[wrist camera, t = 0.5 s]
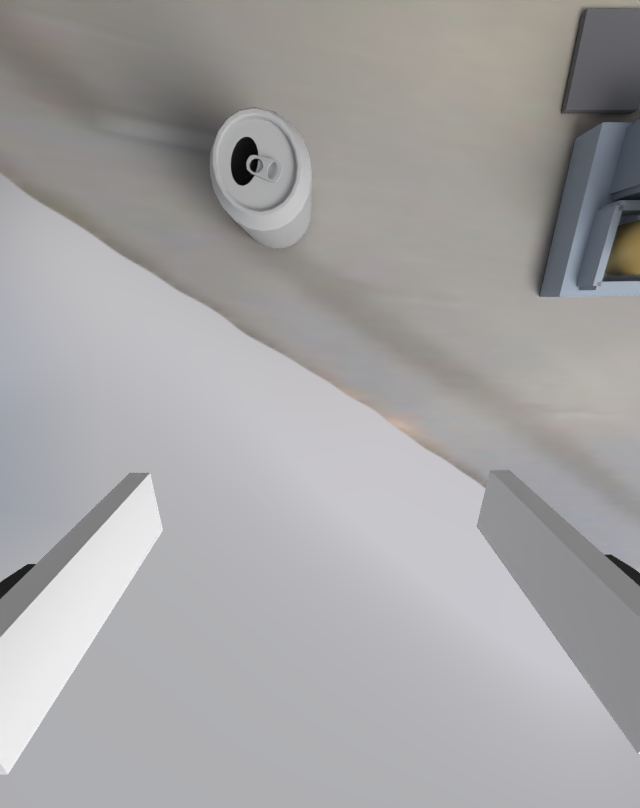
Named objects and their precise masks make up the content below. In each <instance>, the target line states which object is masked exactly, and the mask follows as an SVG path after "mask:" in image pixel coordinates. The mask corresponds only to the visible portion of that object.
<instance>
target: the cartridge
mask: <svg viewBox="0 0 640 808" xmlns="http://www.w3.org/2000/svg"><path fill="white" fill-rule="evenodd" d="M605 273H606V274H608V275H611V276H623V275H638V274H640V220H637V221H632V222H628V223H624V224H621V225H619V226H618V228H617V231H616V235H615V238H614V242H613V245H612V248H611V252H610V255H609V259H608V262H607V266H606V269H605Z"/></svg>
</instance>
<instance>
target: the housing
mask: <svg viewBox="0 0 640 808" xmlns="http://www.w3.org/2000/svg"><path fill="white" fill-rule="evenodd" d="M637 220H640V118H639V119H637V120H635V121H634V122H602V123H601V124H599V125H597V126H596V127H594V128H592V129H591V130H589V131H587V132H586V133H584V134H582V135H581V136H579V137H577V138H576V139H575V143H574V147H573V152H572V156H571V160H570V165H569V169H568V174H567V178H566V182H565V187H564V191H563V196H562V200H561V204H560V209H559V213H558V218H557V222H556V226H555V231H554V235H553V240H552V244H551V248H550V253H549V257H548V262H547V266H546V270H545V275H544V279H543V284H542V288H541V292H540V297H567V296H636V295H640V274H638V275H623V276H611V275H608V274H606V273H605V269H606V266H607V262H608V259H609V255H610V252H611V248H612V245H613V242H614V238H615V235H616V231H617V228H618V226H619V225H621V224H624V223H628V222H632V221H637Z"/></svg>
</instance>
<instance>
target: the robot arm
mask: <svg viewBox="0 0 640 808" xmlns="http://www.w3.org/2000/svg"><path fill="white" fill-rule="evenodd" d="M477 527H478V529H479V530H480V532H481V533H482V535H483V536H484V537H485V539H486V540H487V542H488V543H489V544H490V546H491V547H492V549H493V550H494V551H495V553H496V554H497V556H498V557H499V558H500V560H501V561H502V563H503V564H504V565H505V567H506V568H507V570H508V571H509V573H510V574H511V575H512V577H513V578H514V580H515V581H516V583H517V584H518V585H519V587H520V588H521V589H522V591H523V592H524V594H525V595H526V597H527V598H528V599H529V601H530V602H531V604H532V605H533V606H534V607H535V609H536V611H537V612H538V614H539V615H540V616H541V618H542V619H543V621H544V622H545V623H546V625H547V626H548V628H549V629H550V630H551V632H552V633H553V635H554V636H555V637H556V639H557V640H558V642H559V643H560V645H561V646H562V647H563V649H564V650H565V651H566V653H567V654H568V656H569V657H570V658H571V660H572V661H573V663H574V664H575V666H576V667H577V668H578V670H579V671H580V673H581V674H582V676H583V677H584V678H585V680H586V681H587V683H588V684H589V685H590V687H591V688H592V690H593V691H594V692H595V694H596V695H597V697H598V698H599V699H600V701H601V702H602V704H603V705H604V706H605V708H606V709H607V711H608V712H609V714H610V715H611V716H612V717H613V719H614V721H615V722H616V723H617V725H618V726H619V727H620V729H621V730H622V732H623V733H624V735H625V736H626V738H627V739H628V740H629V742H630V743H631V744H632V746H633V747H634V749H635V750H636V751H637V753H638V754H640V573H639V572H638V571H636V570H635V569H634V568H632V567H630V566H629V565H627V564H625V563H624V562H622V561H620V560H619V559H617V558H616V557H614V556H612V555H604V554H603V553H602V552H600V551H599V550H598V549H597V548H596V547H595V546H594V545H593V544H592V543H590V542H589V541H588V540H587V539H586V538H585V537H584V536H583V535H581V534H580V533H579V532H578V531H577V530H576V529H575V528H574V527H572V526H571V525H570V524H569V523H568V522H567V521H566V520H565V519H563V518H562V517H561V516H560V515H559V514H558V513H557V512H556V511H554V510H553V509H552V508H551V507H550V506H549V505H548V504H547V503H545V502H544V501H543V500H542V499H541V498H540V497H539V496H538V495H537V494H535V493H534V492H533V491H532V490H531V489H530V488H529V487H528V486H526V485H525V484H524V483H523V482H522V481H521V480H520V479H519V478H517V477H516V476H515V475H514V474H513V473H512V472H511V471H510V470H490V473H489V477H488V482H487V486H486V490H485V494H484V498H483V502H482V507H481V511H480V515H479V519H478V523H477ZM162 531H163V529H162V524H161V520H160V516H159V511H158V506H157V502H156V497H155V493H154V488H153V483H152V479H151V475H150V473H129V474H128V475H127V476H126V477H125V478H124V479H123V480H122V481H121V482H120V483H119V484H118V485H117V486H116V487H115V488H114V489H113V490H112V491H111V492H110V493H109V494H108V495H107V496H106V497H105V498H104V499H103V500H102V501H101V502H100V503H98V504H97V505H96V507H94V508H93V509H92V510H91V511H90V513H88V514H87V515H86V516H85V517H84V518H83V519H82V520H81V521H80V522H79V523H78V524H77V525H76V526H75V527H74V528H73V529H72V530H71V531H70V532H69V533H68V534H67V535H66V536H65V537H64V538H63V539H62V540H61V541H60V542H58V543H57V544H56V545H55V546H54V547H53V548H52V549H51V550H50V552H49V553H47V554H46V555H45V556H44V557H43V558H42V559H41V560H40V561H39V562H38V563H37V564H27V565H26V566H24V567H23V568H22V569H20V570H18V571H17V572H15V573H14V574H12V575H10V576H9V577H7V578H6V579H4V580H3V581H2V582H0V774H8V773H9V772H10V770H11V769H12V767H13V766H14V764H15V762H16V761H17V759H18V758H19V756H20V754H21V753H22V751H23V750H24V748H25V746H26V745H27V743H28V742H29V740H30V739H31V737H32V736H33V734H34V732H35V731H36V729H37V728H38V726H39V724H40V723H41V721H42V720H43V718H44V717H45V715H46V713H47V712H48V710H49V709H50V707H51V706H52V704H53V702H54V701H55V699H56V698H57V696H58V695H59V693H60V692H61V690H62V688H63V686H64V685H65V684H66V682H67V680H68V679H69V677H70V676H71V674H72V673H73V671H74V669H75V668H76V666H77V665H78V663H79V662H80V660H81V658H82V657H83V655H84V654H85V652H86V651H87V649H88V647H89V646H90V644H91V643H92V641H93V640H94V638H95V636H96V635H97V633H98V632H99V630H100V628H101V627H102V625H103V624H104V622H105V621H106V619H107V617H108V616H109V614H110V613H111V611H112V610H113V608H114V606H115V605H116V603H117V602H118V600H119V599H120V597H121V595H122V594H123V592H124V591H125V589H126V588H127V586H128V584H129V583H130V581H131V579H132V578H133V576H134V575H135V573H136V572H137V570H138V569H139V567H140V565H141V564H142V562H143V561H144V559H145V557H146V556H147V554H148V552H149V551H150V550H151V548H152V546H153V545H154V543H155V542H156V540H157V539H158V537H159V536H160V534H161V532H162Z"/></svg>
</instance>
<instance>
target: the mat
mask: <svg viewBox="0 0 640 808" xmlns="http://www.w3.org/2000/svg"><path fill="white" fill-rule="evenodd" d="M639 101H640V9H587V10H586V11H585V12H584V13H583V14H582V16H581V21H580V26H579V31H578V36H577V40H576V45H575V50H574V55H573V59H572V64H571V69H570V74H569V79H568V83H567V88H566V93H565V98H564V103H563V107H562V112H561V113H632V112H634V111H636V110H637V108H638V105H639Z"/></svg>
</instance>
